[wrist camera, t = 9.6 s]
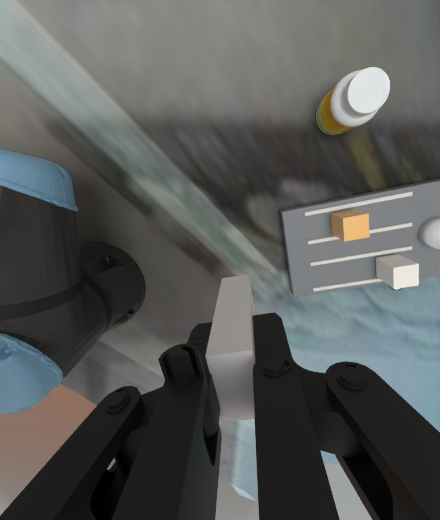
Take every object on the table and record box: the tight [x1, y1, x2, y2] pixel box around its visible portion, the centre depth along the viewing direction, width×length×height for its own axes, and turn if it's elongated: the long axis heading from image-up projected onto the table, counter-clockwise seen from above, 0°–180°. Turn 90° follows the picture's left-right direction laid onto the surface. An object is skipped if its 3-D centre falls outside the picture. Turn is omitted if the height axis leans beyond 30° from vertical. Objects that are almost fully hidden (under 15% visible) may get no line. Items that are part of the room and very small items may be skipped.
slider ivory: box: [376, 254, 419, 289], centre depth 34 cm, size 3×3×4 cm
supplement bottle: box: [316, 67, 390, 135], centre depth 29 cm, size 5×5×10 cm
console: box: [280, 178, 440, 297], centre depth 36 cm, size 23×14×4 cm, turn 102°
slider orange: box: [331, 209, 370, 242], centre depth 33 cm, size 3×3×4 cm
